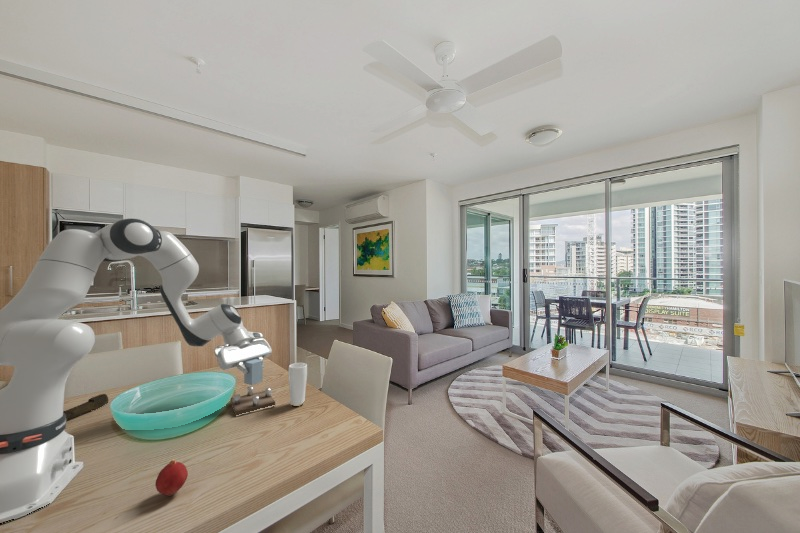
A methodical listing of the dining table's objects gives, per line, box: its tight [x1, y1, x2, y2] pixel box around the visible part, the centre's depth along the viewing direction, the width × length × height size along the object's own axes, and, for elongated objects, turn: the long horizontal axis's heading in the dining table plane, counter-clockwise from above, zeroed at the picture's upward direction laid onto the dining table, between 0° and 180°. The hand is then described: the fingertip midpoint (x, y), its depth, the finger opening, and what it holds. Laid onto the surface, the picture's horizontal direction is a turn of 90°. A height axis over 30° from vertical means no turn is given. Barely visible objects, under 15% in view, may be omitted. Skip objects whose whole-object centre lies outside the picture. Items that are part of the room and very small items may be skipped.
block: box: [243, 359, 264, 386], centre depth 114 cm, size 4×4×8 cm
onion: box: [154, 458, 189, 497], centre depth 68 cm, size 6×6×8 cm
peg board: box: [230, 386, 276, 416], centre depth 114 cm, size 13×13×5 cm
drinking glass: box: [288, 362, 308, 405], centre depth 115 cm, size 7×7×15 cm
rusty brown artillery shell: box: [63, 393, 109, 422], centre depth 105 cm, size 19×4×5 cm, turn 173°
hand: (254, 370), depth 114 cm, fingers closed on block, 4 cm apart
